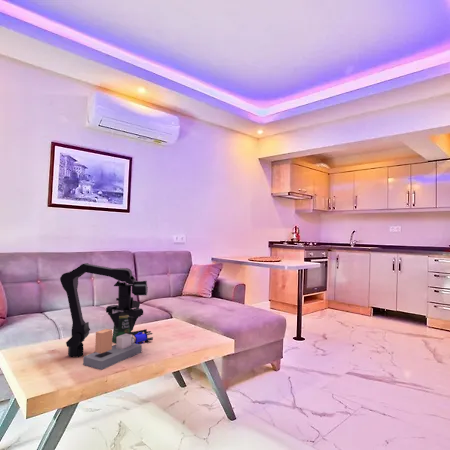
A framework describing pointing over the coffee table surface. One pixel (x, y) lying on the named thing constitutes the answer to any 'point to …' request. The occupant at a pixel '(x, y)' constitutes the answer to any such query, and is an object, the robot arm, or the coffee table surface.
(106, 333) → the terracotta plug
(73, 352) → the robot arm
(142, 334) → the character figurine
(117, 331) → the coffee jar
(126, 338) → the pale pink plug
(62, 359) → the coffee table surface
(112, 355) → the header
